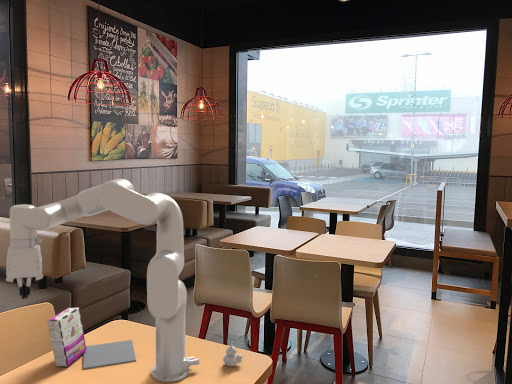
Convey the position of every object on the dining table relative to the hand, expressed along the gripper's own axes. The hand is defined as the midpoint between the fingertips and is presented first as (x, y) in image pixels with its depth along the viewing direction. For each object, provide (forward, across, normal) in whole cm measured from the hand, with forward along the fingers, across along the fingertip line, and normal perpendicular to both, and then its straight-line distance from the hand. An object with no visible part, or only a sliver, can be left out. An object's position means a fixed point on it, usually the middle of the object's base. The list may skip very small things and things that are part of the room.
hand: (25, 297), depth 141 cm
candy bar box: (+24, -14, 0) cm, 27 cm away
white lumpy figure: (+23, -66, +21) cm, 73 cm away
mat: (+24, -26, 0) cm, 35 cm away
